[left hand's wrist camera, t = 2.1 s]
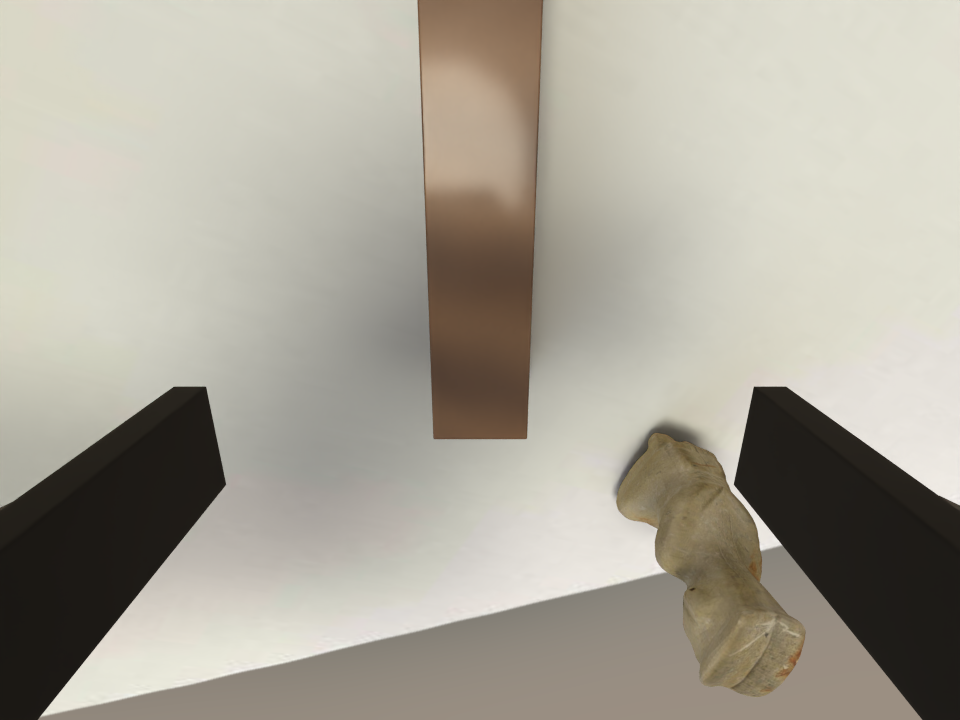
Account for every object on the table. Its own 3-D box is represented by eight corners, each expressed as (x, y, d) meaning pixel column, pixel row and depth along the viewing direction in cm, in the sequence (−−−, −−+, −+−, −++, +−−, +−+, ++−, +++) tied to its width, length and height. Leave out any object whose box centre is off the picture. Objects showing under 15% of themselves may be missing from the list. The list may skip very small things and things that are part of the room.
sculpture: (597, 494, 37) (667, 690, 23) (644, 412, 35) (754, 575, 21) (666, 519, 38) (775, 723, 24) (718, 440, 36) (871, 616, 22)
